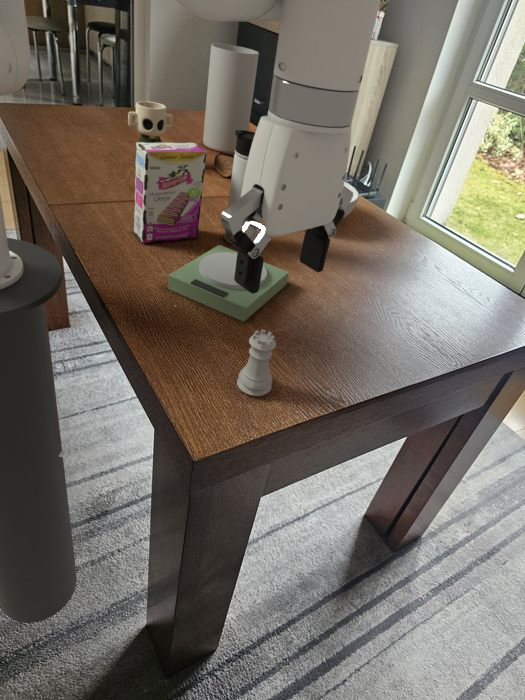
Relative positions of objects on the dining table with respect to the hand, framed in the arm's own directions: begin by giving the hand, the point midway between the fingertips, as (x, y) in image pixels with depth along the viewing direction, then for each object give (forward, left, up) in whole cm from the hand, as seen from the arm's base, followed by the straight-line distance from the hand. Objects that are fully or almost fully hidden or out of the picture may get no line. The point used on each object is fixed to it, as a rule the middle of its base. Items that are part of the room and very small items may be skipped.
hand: (280, 276), depth 54 cm
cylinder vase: (+62, +85, -17) cm, 106 cm away
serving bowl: (+49, +39, -17) cm, 64 cm away
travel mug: (+26, +35, -17) cm, 46 cm away
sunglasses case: (+55, +65, -17) cm, 86 cm away
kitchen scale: (+13, +22, -16) cm, 30 cm away
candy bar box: (+14, +42, -17) cm, 47 cm away
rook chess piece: (0, +1, -17) cm, 17 cm away
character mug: (+34, +80, -17) cm, 88 cm away
